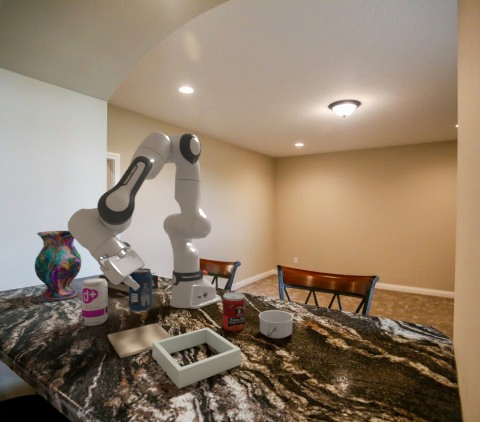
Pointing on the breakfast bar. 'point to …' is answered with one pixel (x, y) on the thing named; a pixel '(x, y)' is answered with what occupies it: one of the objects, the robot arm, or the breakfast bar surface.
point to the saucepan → (276, 323)
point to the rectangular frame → (201, 368)
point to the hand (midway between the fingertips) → (142, 284)
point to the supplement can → (94, 301)
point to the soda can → (141, 291)
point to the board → (137, 339)
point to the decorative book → (123, 287)
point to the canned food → (233, 311)
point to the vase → (57, 265)
